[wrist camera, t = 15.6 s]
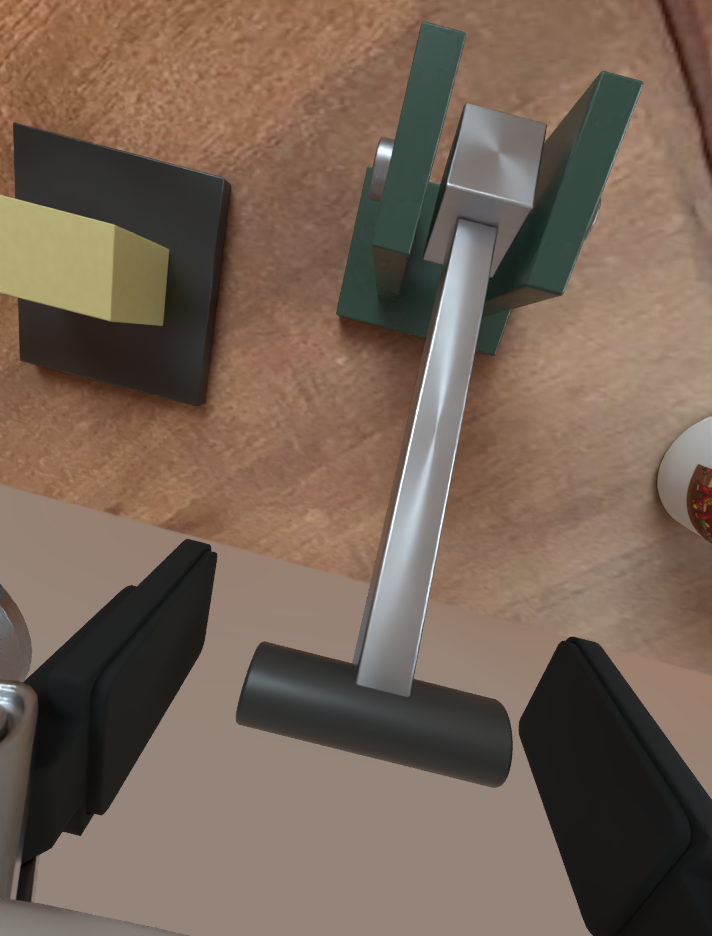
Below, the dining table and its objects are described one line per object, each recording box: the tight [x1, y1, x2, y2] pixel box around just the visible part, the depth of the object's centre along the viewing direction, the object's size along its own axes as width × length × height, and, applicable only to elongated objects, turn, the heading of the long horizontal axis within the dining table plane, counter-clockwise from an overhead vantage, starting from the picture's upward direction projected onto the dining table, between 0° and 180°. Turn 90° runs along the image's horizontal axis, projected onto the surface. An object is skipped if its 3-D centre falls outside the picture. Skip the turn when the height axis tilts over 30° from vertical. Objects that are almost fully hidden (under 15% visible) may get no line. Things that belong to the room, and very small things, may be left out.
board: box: [13, 123, 231, 406], centre depth 22 cm, size 12×11×1 cm
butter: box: [0, 195, 169, 326], centre depth 19 cm, size 4×6×4 cm, turn 76°
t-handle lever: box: [236, 103, 547, 788], centre depth 9 cm, size 15×5×2 cm
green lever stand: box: [336, 22, 643, 356], centre depth 15 cm, size 7×9×13 cm
